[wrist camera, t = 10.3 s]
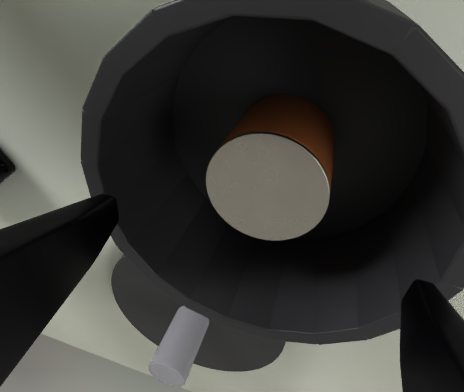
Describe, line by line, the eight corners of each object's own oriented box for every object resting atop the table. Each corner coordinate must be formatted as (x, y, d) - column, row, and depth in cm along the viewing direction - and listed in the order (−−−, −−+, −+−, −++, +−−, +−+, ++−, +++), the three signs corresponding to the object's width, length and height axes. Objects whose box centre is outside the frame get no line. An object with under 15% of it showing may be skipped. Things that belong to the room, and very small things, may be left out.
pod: (268, 196, 17) (246, 252, 14) (219, 124, 16) (182, 166, 12) (352, 163, 15) (352, 220, 11) (305, 73, 13) (288, 108, 10)
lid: (188, 363, 31) (161, 428, 27) (88, 262, 27) (35, 320, 22) (322, 351, 24) (315, 437, 20) (216, 209, 19) (176, 279, 15)
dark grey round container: (249, 263, 21) (216, 355, 16) (118, 89, 17) (17, 139, 12) (486, 197, 14) (559, 321, 9) (366, -120, 10) (380, -214, 5)
